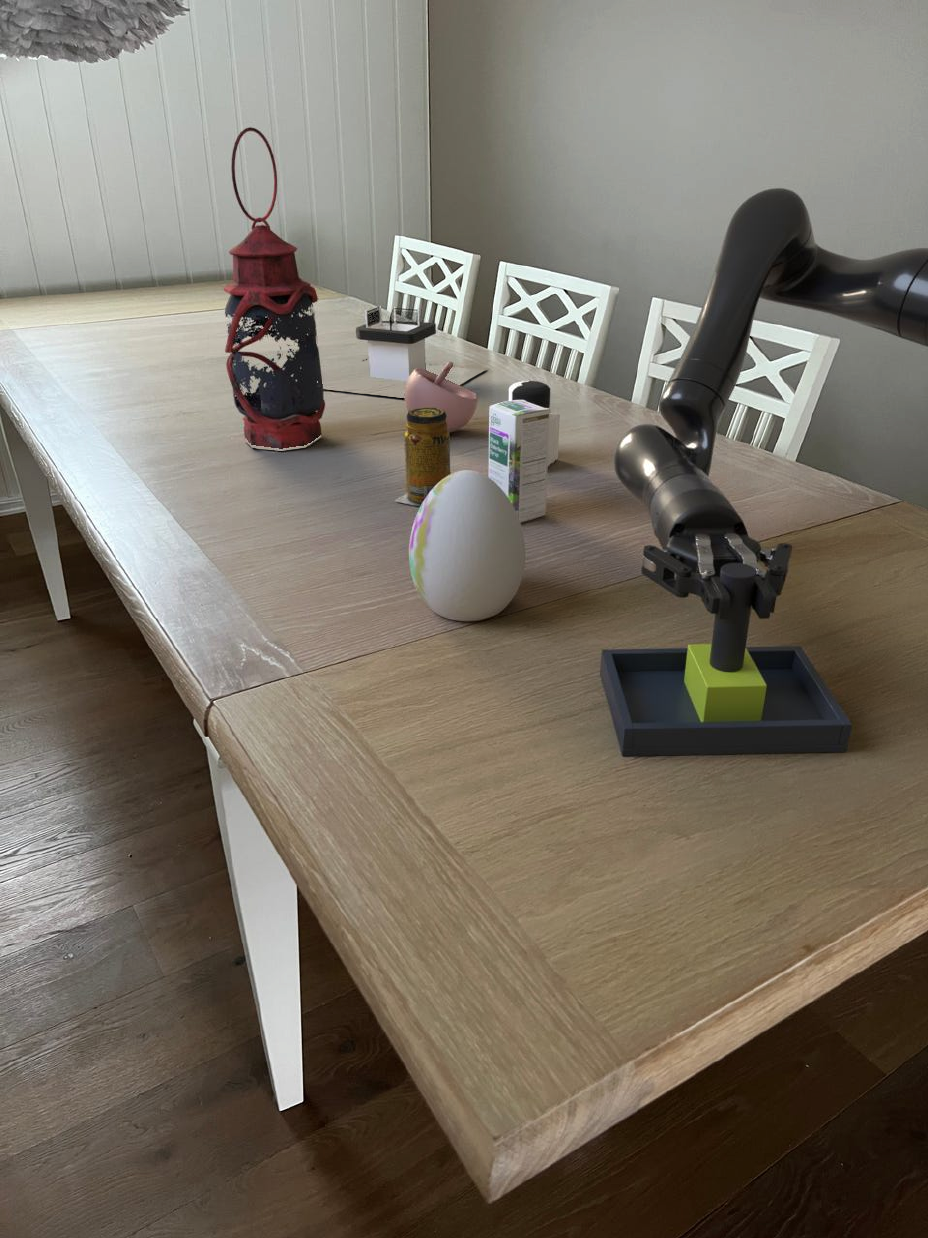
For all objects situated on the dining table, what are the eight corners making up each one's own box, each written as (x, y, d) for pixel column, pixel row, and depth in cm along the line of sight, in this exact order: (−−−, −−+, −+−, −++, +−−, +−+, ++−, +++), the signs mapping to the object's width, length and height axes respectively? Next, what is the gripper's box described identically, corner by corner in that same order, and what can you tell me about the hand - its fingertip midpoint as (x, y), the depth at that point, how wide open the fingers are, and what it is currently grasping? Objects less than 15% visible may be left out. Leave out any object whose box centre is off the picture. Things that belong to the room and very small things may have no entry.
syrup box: (485, 512, 123) (486, 404, 116) (521, 502, 125) (523, 396, 118) (512, 526, 118) (514, 415, 111) (547, 515, 121) (551, 406, 114)
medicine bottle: (558, 459, 141) (562, 380, 135) (540, 473, 135) (542, 392, 129) (516, 452, 144) (517, 375, 138) (496, 466, 138) (496, 386, 132)
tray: (795, 671, 87) (800, 645, 86) (846, 752, 76) (852, 724, 75) (599, 674, 87) (601, 649, 86) (622, 756, 76) (624, 728, 75)
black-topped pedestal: (488, 370, 189) (488, 302, 183) (432, 403, 168) (430, 327, 162) (368, 358, 199) (364, 293, 193) (301, 387, 179) (295, 316, 172)
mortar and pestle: (486, 439, 150) (486, 368, 144) (414, 446, 147) (411, 374, 141) (468, 418, 160) (467, 351, 154) (400, 424, 157) (396, 356, 152)
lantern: (300, 459, 142) (267, 127, 120) (217, 450, 146) (171, 128, 124) (343, 429, 155) (320, 125, 133) (266, 422, 159) (232, 126, 137)
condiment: (420, 485, 132) (417, 402, 126) (473, 494, 128) (472, 409, 122) (393, 502, 126) (389, 416, 120) (448, 512, 123) (446, 424, 117)
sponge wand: (738, 680, 85) (756, 551, 78) (760, 724, 78) (783, 588, 72) (683, 681, 85) (697, 552, 78) (702, 726, 78) (719, 590, 72)
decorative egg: (449, 570, 107) (446, 445, 100) (543, 594, 102) (548, 464, 95) (388, 614, 98) (381, 480, 91) (489, 643, 93) (489, 503, 85)
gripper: (625, 488, 87) (663, 568, 72) (773, 486, 87) (842, 565, 72) (619, 561, 91) (654, 651, 75) (762, 558, 91) (825, 648, 75)
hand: (746, 608), depth 74 cm, fingers closed on sponge wand, 2 cm apart
